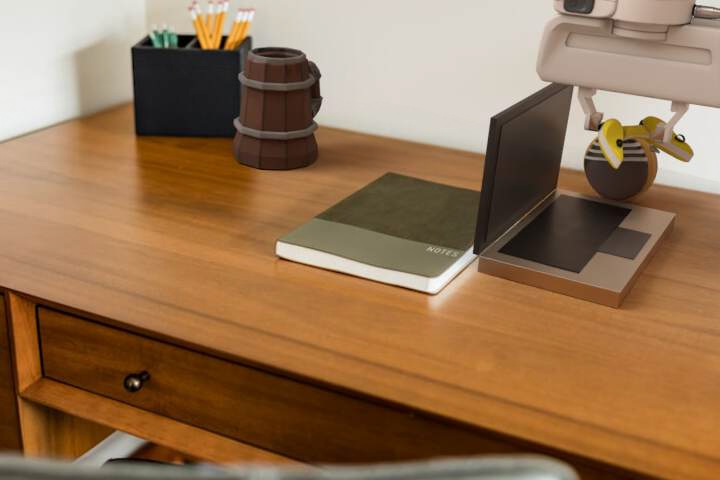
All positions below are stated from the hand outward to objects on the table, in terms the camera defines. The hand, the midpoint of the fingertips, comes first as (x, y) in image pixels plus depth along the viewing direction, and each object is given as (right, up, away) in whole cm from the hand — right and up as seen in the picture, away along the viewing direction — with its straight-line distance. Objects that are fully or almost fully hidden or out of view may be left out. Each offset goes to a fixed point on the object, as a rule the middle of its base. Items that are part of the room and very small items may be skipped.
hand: (626, 135), depth 94 cm
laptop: (-2, -12, +9) cm, 15 cm away
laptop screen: (-8, -2, +9) cm, 12 cm away
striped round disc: (+6, -6, +25) cm, 26 cm away
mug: (-39, +1, +36) cm, 53 cm away
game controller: (+2, -2, +2) cm, 3 cm away
